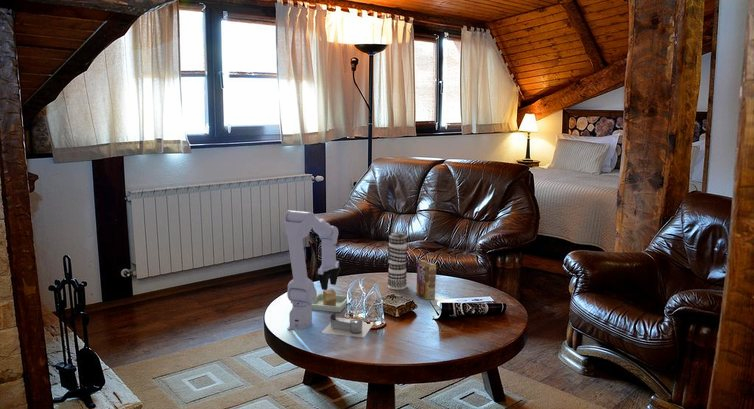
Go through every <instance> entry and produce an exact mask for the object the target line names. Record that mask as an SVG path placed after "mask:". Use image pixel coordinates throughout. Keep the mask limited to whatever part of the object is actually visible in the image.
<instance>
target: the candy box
mask: <svg viewBox="0 0 754 409" xmlns="http://www.w3.org/2000/svg"><path fill="white" fill-rule="evenodd" d="M416 263H417V264H416V293H415V294H416V295H417V296H419V297H420V298H423V299H425V300H428V301H429V300H430V301H431V300H434V299H436V283H437V282H436V281H437V278H436V277H437V276H436V275H437V264H436V263H433V262H431V261H428V260H426V259H421V260H417V261H416Z"/></svg>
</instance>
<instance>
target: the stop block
mask: <svg viewBox="0 0 754 409" xmlns="http://www.w3.org/2000/svg"><path fill="white" fill-rule="evenodd" d="M322 294H323V305H329V306H336V295H337V292H336V291H335V290H334V289H333V288H330V289H327V290H322Z"/></svg>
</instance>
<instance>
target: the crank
mask: <svg viewBox="0 0 754 409" xmlns="http://www.w3.org/2000/svg"><path fill="white" fill-rule="evenodd" d="M336 313H337V312H333V313H332V314H331V315H330V316H329V317H330V318H329V319H330V323H331V327H332V328H338V329H343V330H348V331H350V332H351V333H353V334H360V333H362V320H363V319H356V318H354V320H351V321H349V320H343V319H338V318H339V317H337V316H336V315H337V314H336ZM336 317H337V318H336Z"/></svg>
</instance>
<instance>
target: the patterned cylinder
mask: <svg viewBox="0 0 754 409" xmlns="http://www.w3.org/2000/svg"><path fill="white" fill-rule="evenodd" d="M388 238H389V239H388V241H389V242H388V244H387V259H388V261H387V262H388V271H387V274H388V275H387V277H388V278H387V288H388V289H390V290H391V289H392V290H398V291H400V290H405V289H406V288H407V284H408V283H407V281H408V279H407V274H408V273H407V267H406V265H407V264H406V263H408V260H407V259H408V257H407V255H408V254H409V253H408V251H409V250H408V248H407V235H406V234H405V233H404V232H400V231H394V232H392V233H391V234H390V235H388Z"/></svg>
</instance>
